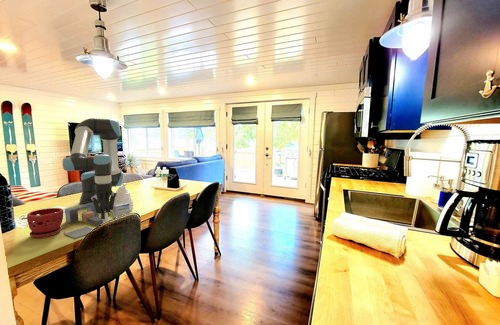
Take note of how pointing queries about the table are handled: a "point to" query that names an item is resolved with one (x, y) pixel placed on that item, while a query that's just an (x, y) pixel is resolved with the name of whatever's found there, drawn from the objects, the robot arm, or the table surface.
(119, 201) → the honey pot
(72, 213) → the block
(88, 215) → the tan block
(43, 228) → the plant pot
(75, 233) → the slate tile
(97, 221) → the bar
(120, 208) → the medicine box
